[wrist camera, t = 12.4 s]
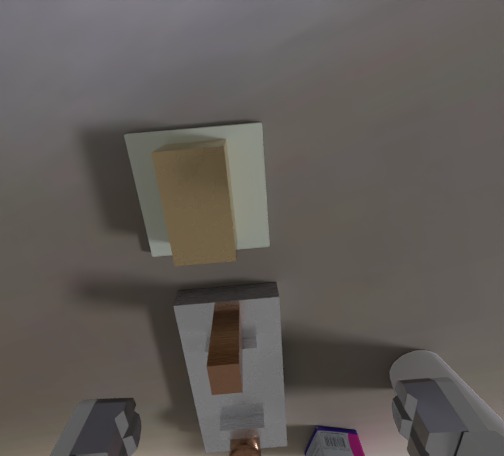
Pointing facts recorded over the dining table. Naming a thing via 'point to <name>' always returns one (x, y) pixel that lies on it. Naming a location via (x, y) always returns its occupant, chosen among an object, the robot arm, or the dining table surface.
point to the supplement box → (334, 443)
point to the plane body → (235, 365)
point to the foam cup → (434, 367)
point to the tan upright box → (197, 201)
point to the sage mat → (241, 172)
